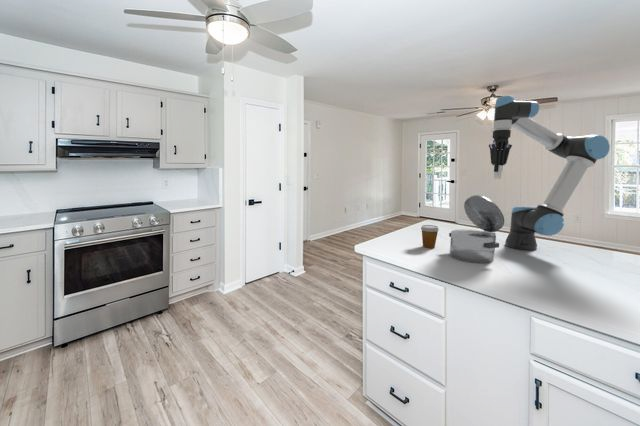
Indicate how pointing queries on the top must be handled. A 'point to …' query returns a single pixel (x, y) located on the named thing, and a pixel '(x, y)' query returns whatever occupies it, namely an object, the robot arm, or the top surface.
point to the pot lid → (484, 213)
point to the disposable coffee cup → (429, 236)
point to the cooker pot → (473, 245)
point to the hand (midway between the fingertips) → (497, 178)
